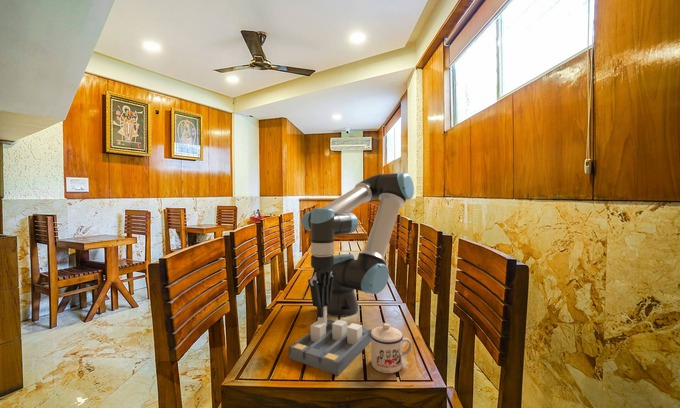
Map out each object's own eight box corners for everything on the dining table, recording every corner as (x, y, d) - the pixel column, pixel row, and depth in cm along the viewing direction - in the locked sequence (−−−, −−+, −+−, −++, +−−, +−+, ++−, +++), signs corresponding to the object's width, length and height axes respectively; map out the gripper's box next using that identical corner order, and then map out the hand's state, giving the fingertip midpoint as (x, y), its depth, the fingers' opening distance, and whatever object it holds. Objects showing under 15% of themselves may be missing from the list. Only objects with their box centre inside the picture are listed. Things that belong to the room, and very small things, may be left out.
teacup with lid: (374, 375, 78) (374, 332, 77) (367, 357, 87) (367, 318, 86) (417, 372, 79) (417, 330, 79) (406, 354, 88) (406, 316, 88)
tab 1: (317, 335, 97) (316, 321, 97) (326, 338, 95) (325, 323, 95) (310, 340, 94) (310, 325, 94) (319, 343, 92) (319, 327, 92)
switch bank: (328, 329, 105) (328, 318, 105) (371, 340, 97) (371, 329, 97) (288, 358, 86) (288, 346, 86) (338, 375, 78) (338, 362, 78)
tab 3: (352, 338, 95) (352, 323, 95) (362, 340, 93) (362, 325, 93) (347, 343, 92) (347, 327, 92) (357, 345, 90) (357, 329, 90)
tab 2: (338, 334, 98) (337, 319, 98) (347, 336, 96) (347, 321, 96) (332, 338, 95) (332, 323, 95) (341, 341, 93) (341, 326, 93)
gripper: (323, 250, 104) (323, 316, 104) (301, 256, 92) (301, 330, 93) (342, 252, 100) (341, 321, 100) (320, 259, 89) (320, 336, 89)
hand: (322, 325), depth 97 cm, fingers closed
